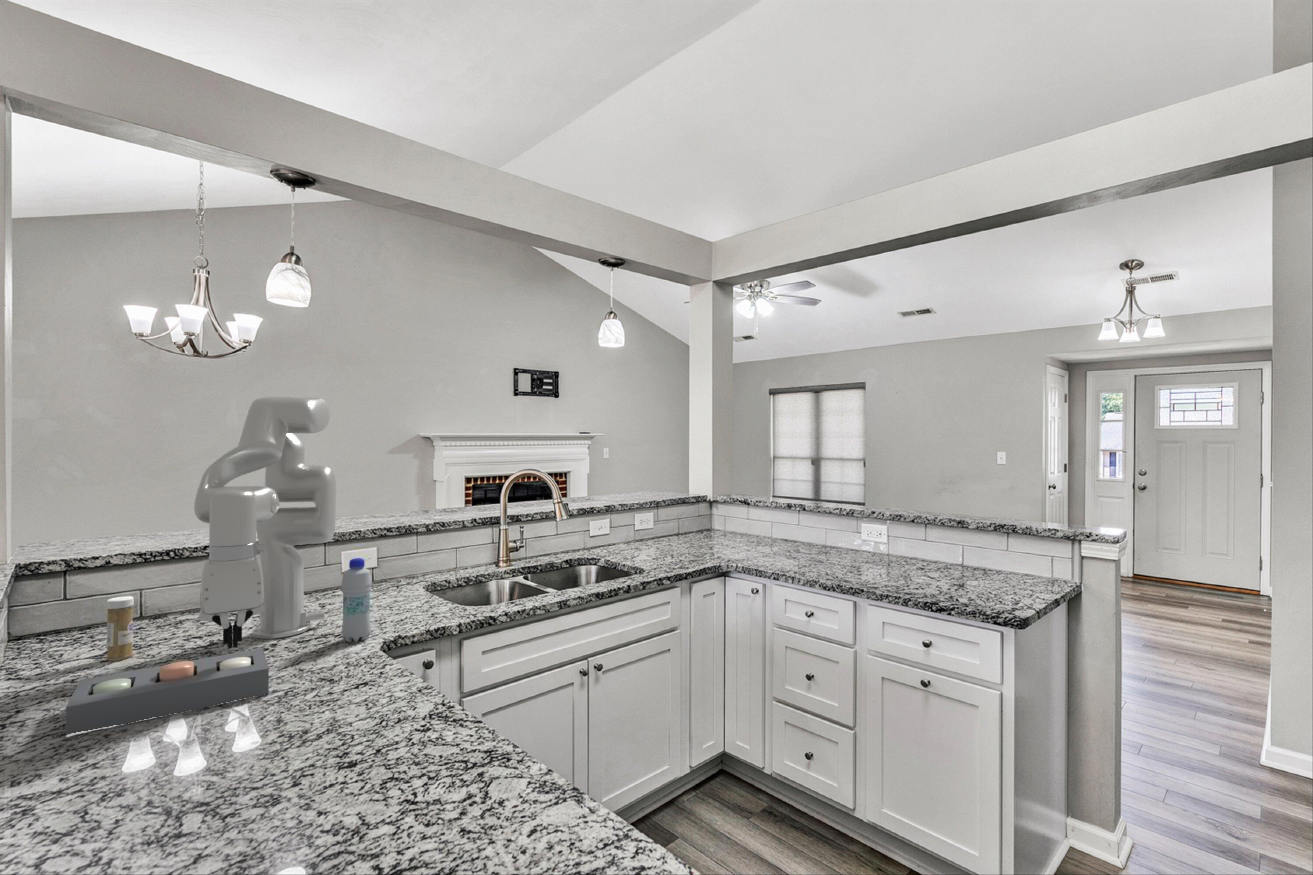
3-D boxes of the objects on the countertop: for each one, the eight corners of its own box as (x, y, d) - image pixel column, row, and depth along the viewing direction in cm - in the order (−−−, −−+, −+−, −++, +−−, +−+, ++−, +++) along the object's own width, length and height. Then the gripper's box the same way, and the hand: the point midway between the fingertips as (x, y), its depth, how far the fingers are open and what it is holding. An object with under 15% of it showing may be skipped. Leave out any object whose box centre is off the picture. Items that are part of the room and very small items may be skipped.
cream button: (249, 672, 121) (250, 655, 121) (251, 680, 117) (251, 662, 117) (219, 678, 118) (219, 660, 118) (219, 686, 114) (220, 668, 114)
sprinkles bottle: (131, 658, 133) (131, 598, 133) (103, 663, 131) (104, 601, 131) (135, 652, 137) (135, 594, 137) (108, 656, 135) (108, 597, 135)
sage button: (132, 695, 110) (132, 676, 110) (129, 704, 106) (129, 684, 106) (95, 702, 107) (95, 682, 107) (90, 712, 103) (90, 691, 103)
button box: (262, 671, 126) (263, 648, 126) (268, 694, 115) (268, 668, 115) (79, 707, 109) (80, 679, 109) (65, 737, 98) (65, 707, 98)
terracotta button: (193, 677, 115) (193, 659, 115) (193, 685, 111) (193, 666, 111) (160, 683, 112) (160, 664, 112) (158, 692, 108) (158, 673, 108)
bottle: (377, 636, 149) (377, 556, 149) (356, 645, 143) (356, 561, 143) (356, 633, 151) (357, 554, 151) (334, 642, 145) (334, 559, 145)
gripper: (275, 546, 125) (275, 633, 125) (184, 554, 116) (184, 648, 116) (279, 551, 119) (279, 643, 119) (184, 560, 110) (183, 660, 110)
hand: (232, 645), depth 117 cm, fingers closed
